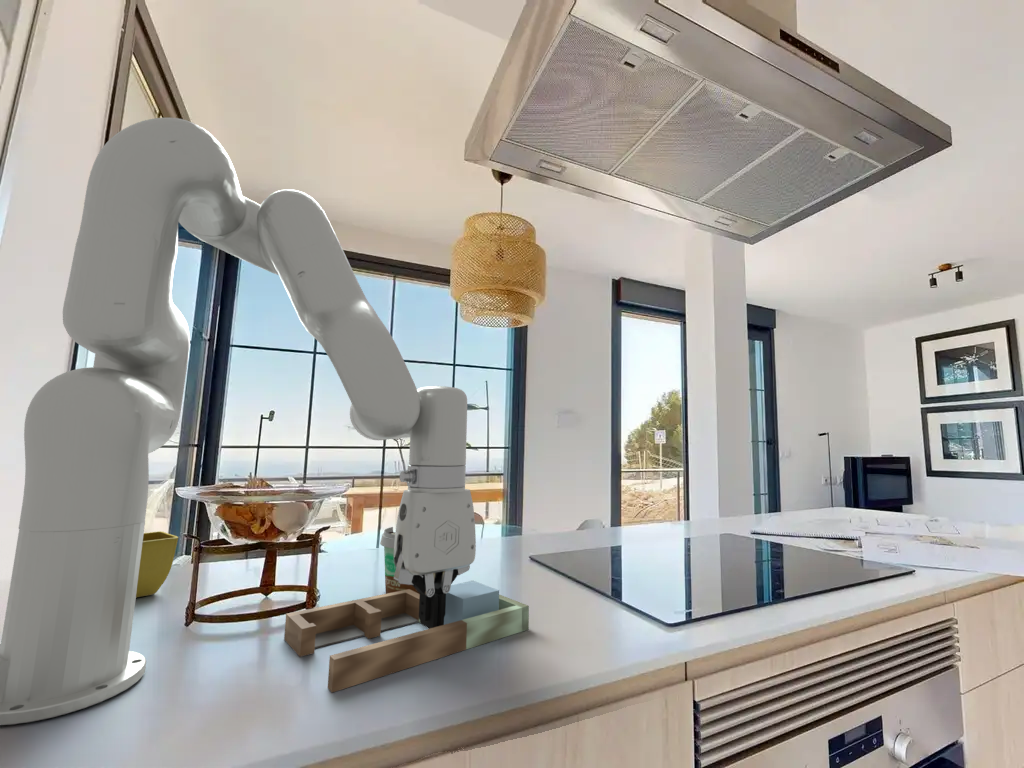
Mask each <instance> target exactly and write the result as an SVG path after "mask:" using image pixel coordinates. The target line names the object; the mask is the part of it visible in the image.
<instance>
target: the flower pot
mask: <svg viewBox="0 0 1024 768" xmlns="http://www.w3.org/2000/svg"><path fill="white" fill-rule="evenodd" d="M178 541H179V536H177V535H174V534H171V533H167V532H165V531H160V530H159V531H152V532H144V535H143V543H142V551H141V559H140V567H139V575H138V583H137V591H136V598H141V597H145V596H151V595H155V594H157V592H158V591H159V590H160V588H161V587H162V585H163V584H164V583H165V582H166V579H167V578H168V576H169V574H170V572H171V570H172V566H173V562H174V558H175V554H176V550H177V546H178Z"/></svg>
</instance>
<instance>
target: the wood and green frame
mask: <svg viewBox="0 0 1024 768" xmlns="http://www.w3.org/2000/svg"><path fill="white" fill-rule="evenodd" d="M419 597H420V594H418V593H416V592H414V591H412V590H410V589H407V590H402V591H397V592H392V593H387V594H386V593H384V594H378V595H373V596H368V597H363V598H359V599H358V598H357V599H353V600H348V601H343V602H338V603H333V604H329V605H323V606H318V607H313V608H308V609H304V610H298V611H294V612H290V613H285V621H284V622H285V624H284V637H283V640H284V641H285V642H286V643H287V644H288V645H289V646H290V648H291V649H292V650H293V651H294V652H295V653H296V654H297V656H298V657H300V658H301V657H305V656H308V655H312V654H315V649H319V648H323V647H327V646H331V645H334V644H339V643H344V642H346V641H347V642H348V641H351V640H355V639H358V637H359V638H361V637H362V636H363V637H365V638H366V637H367V638H366V639H368V640H369V639H373V638H377V636H378V637H381V634H382V632H386V631H389V630H393V629H397V628H401V627H405V626H409V625H414V624H417V623H419V624H421V623H420V619H419ZM529 615H530V605H528V604H525V603H523V602H520V601H517V600H515V599H512V598H510V597H507V596H504V595H502V594H499V610H497V611H493V612H490V613H486V614H482V615H478V616H475V617H471V618H467V619H464V620H460V621H456V622H453V623H449V624H445V625H441V626H438V627H434V628H430V629H429V628H426V629H423V630H420V631H416V632H412V633H408V634H406V635H400V636H397V637H394V638H389V639H387V640H383V641H379V642H375V643H371V644H368V645H363V646H361V647H357V648H352V649H349V650H346V651H342V652H341V651H340V652H338V653H334V654H331V655H329V660H328V661H329V664H328V674H327V676H328V678H327V689H328V690H329V691H330V692H331V693H335V692H338V691H342V690H345V689H347V688H351V687H355V686H356V685H360V684H363V683H366V682H370V681H372V680H375V679H376V680H377V679H379V678H382V677H385V676H388V675H391V674H394V673H398V672H400V671H403V670H404V671H405V670H407V669H410V668H414V667H416V666H419V665H423V664H426V663H428V662H431V661H435V660H437V659H441V658H445V657H446V656H450V655H453V654H456V653H460V652H463V651H466V650H469V649H472V648H475V647H479V646H481V645H482V646H483V645H485V644H487V643H491V642H494V641H497V640H500V639H503V638H506V637H510V636H512V635H516V634H519V633H522V632H525V631H528V630H529V629H530V622H529V621H530V620H529V619H530V618H529V617H530V616H529ZM363 637H362V638H363ZM354 638H355V639H354Z"/></svg>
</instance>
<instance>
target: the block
mask: <svg viewBox="0 0 1024 768" xmlns="http://www.w3.org/2000/svg"><path fill="white" fill-rule="evenodd" d="M499 595H500V589H497V588H494V587H491V586H489V585H486V584H483V583H480V582H478V581H476V580H470V581H465V582H461V583H455V584H451V588H450V591H449V592H448V593H446V609H445V616H444V625H445V624H449V623H453V622H456V621H460V620H464V619H467V618H471V617H475V616H478V615H482V614H486V613H490V612H493V611H497V610H499Z"/></svg>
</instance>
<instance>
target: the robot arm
mask: <svg viewBox="0 0 1024 768" xmlns="http://www.w3.org/2000/svg"><path fill="white" fill-rule="evenodd" d="M179 225H180V226H181V227H183V228H184V229H185V230H186V231H187V232H188V233H189V234H191V235H192V236H194V237H195V238H197V239H198V240H200V241H201V242H205V243H206V244H208V245H211V246H213V247H214V248H217V249H219V250H221V251H224V252H225V253H227V254H230V255H231V256H234V257H235V258H238V259H240V260H242V261H244V262H247V263H249V264H250V265H254V267H255V266H256V267H257V268H260V269H261V270H264V271H267V272H269V273H272V274H275V275H277V276H279V279H280V280H281V283H282V285H283V287H284V289H285V291H286V293H287V296H288V298H289V299H290V303H291V304H292V307H293V308H294V310H295V313H296V315H297V317H298V319H299V321H300V322H301V324H302V326H303V327H304V329H305V331H306V332H307V333H308V334H310V335H311V336H312V337H313V338H314V339H315V340H316V341H317V342H318V343H319V344H320V346H321V347H322V349H323V350H324V352H325V353H326V355H327V356H328V358H329V360H330V362H331V364H332V366H333V367H334V369H335V371H336V374H337V376H338V378H339V379H340V381H341V383H342V386H343V387H344V390H345V392H346V395H347V396H348V398H349V399H348V400H349V401H350V403H351V404H350V409H349V419H350V422H351V425H352V427H353V428H354V430H355V431H356V432H357V433H359V434H360V435H361V436H362V437H364V438H367V439H370V440H373V441H388V440H395V439H403V438H405V439H406V438H409V456H408V466H407V469H406V470H404V471H403V470H402V471H400V473H399V480H400V482H401V483H406V486H407V489H404V490H403V493H402V497H401V500H400V504H399V507H398V513H397V519H396V525H395V531H394V532H395V542H394V564H395V566H396V570H395V574H394V581H396V582H398V583H400V584H408V585H412V586H413V587H414V588H415V589H416V591H417V592H419V593H420V597H419V619H420V623H419V624H420V625H422V626H424V627H426V629H430V628H434V627H438V626H441V625H444V616H445V609H446V593H448V592H449V591H450V588H451V585H453V582H454V581H455V580H456V578H457V577H459V576H460V575H463V574H465V573H466V572H469V570H470V569H471V568H470V567H471V565H472V564H473V563H474V562H475V559H476V554H477V553H476V547H477V544H476V543H477V542H476V541H477V540H476V539H477V538H476V521H475V519H476V518H475V510H474V509H475V508H474V501H473V497H472V494H471V489H468V488H466V469H467V468H466V464H467V463H466V462H467V460H466V459H467V425H468V424H467V422H468V397H467V394H466V392H465V391H464V390H463V389H461V388H458V387H454V386H445V385H444V386H443V385H442V386H441V385H433V386H431V385H429V386H422V387H419V388H417V386H416V384H415V382H414V379H413V378H412V375H411V373H410V370H409V368H408V367H407V365H406V362H405V360H404V358H403V356H402V354H401V352H400V350H399V348H398V344H397V343H396V342H395V340H394V338H393V337H392V334H391V333H390V332H389V329H388V328H387V327H386V325H385V324H384V322H383V321H382V320H381V318H380V317H379V315H378V313H377V312H376V310H375V309H374V308H373V306H372V305H371V303H370V302H369V301H368V298H367V297H366V295H365V293H364V291H363V289H362V286H361V285H360V283H359V281H358V279H357V277H356V275H355V273H354V270H353V268H352V266H351V265H350V262H349V260H348V258H347V256H346V254H345V251H344V249H343V247H342V245H341V243H340V241H339V239H338V237H337V234H336V232H335V231H334V228H333V226H332V224H331V222H330V220H329V218H328V216H327V214H326V212H325V210H324V209H323V208H322V206H321V204H319V203H318V201H316V199H314V198H313V197H312V196H311V195H309V194H307V193H306V192H303V191H300V190H296V189H289V188H288V189H281V190H277V191H274V192H273V193H270V194H269V195H268V196H267V197H266V198H265V199H264V200H263V201H262V202H261V204H259V203H257V202H256V201H254V200H251V199H249V198H248V197H246V196H244V195H243V193H242V190H241V186H240V183H239V179H238V175H237V173H236V170H235V167H234V165H233V163H232V160H231V158H230V156H229V155H228V152H227V151H226V150H225V148H224V147H223V146H222V144H221V143H220V141H219V140H217V138H216V137H214V135H213V134H212V133H210V132H209V131H208V130H206V129H205V128H204V127H202V126H200V125H198V124H197V123H195V122H193V121H189V120H187V119H183V118H178V117H154V118H150V119H145V120H142V121H138V122H136V123H133V124H131V125H129V126H127V127H125V128H123V129H121V130H120V131H119V132H117V133H116V134H115V135H113V136H112V137H110V139H109V140H107V142H106V143H105V144H104V145H103V147H102V148H101V149H100V150H99V152H98V154H97V156H96V157H95V160H94V162H93V165H92V167H91V170H90V172H89V177H88V181H87V185H86V190H85V198H84V203H83V208H82V216H81V221H80V226H79V231H78V236H77V239H76V243H75V247H74V253H73V256H72V262H71V267H70V272H69V278H68V281H67V287H66V293H65V297H64V301H63V305H62V306H63V308H62V324H63V327H64V328H65V330H66V333H67V334H68V336H69V337H70V338H71V339H72V341H74V342H75V343H76V344H78V345H79V346H80V347H82V348H84V349H86V350H88V351H89V352H91V353H92V354H94V358H93V359H94V361H93V367H81V368H76V369H73V370H69V371H64V372H63V373H61V374H59V375H57V376H55V377H53V378H52V379H50V380H48V381H47V382H46V383H45V384H43V385H42V386H41V387H40V389H38V391H37V392H36V393H35V394H34V395H33V397H32V399H31V400H30V403H29V404H28V407H27V409H26V414H25V418H24V427H23V430H24V431H23V432H24V433H23V436H24V437H23V438H24V442H23V443H24V458H25V460H24V461H25V463H24V464H25V465H24V467H25V468H24V469H25V470H24V471H25V472H24V473H25V474H24V475H25V476H24V489H23V494H22V495H23V497H22V504H21V511H20V517H19V524H18V534H17V540H16V545H15V546H16V547H15V552H14V553H15V554H14V559H13V565H12V566H13V567H12V572H11V577H10V583H9V584H10V585H9V591H8V595H7V596H8V597H7V602H6V610H5V615H4V621H3V626H2V633H1V640H0V726H6V725H7V726H9V725H11V726H12V725H19V724H25V723H33V722H37V721H43V720H48V719H51V718H55V717H59V716H62V715H63V716H64V715H67V714H71V713H73V712H77V711H79V710H82V709H86V708H88V707H89V708H90V707H91V706H94V705H96V704H100V703H102V702H103V701H106V700H109V699H110V698H113V697H115V696H117V695H119V694H122V692H124V691H126V690H128V689H130V688H131V687H132V686H133V685H135V684H137V682H138V681H140V679H142V678H143V676H144V674H145V672H146V665H147V658H146V657H145V656H144V655H143V654H141V653H140V652H136V651H132V650H130V648H131V647H130V646H131V639H132V631H133V629H132V628H133V624H134V623H133V622H134V616H135V615H134V614H135V607H136V600H137V599H136V591H137V583H138V575H139V567H140V559H141V551H142V543H143V535H144V533H145V525H146V516H147V515H146V514H147V507H148V506H147V505H148V497H149V496H148V495H149V485H150V484H149V481H150V479H149V477H150V475H149V471H150V470H149V467H150V465H149V454H150V453H153V452H155V451H157V450H159V449H161V448H162V447H163V446H164V445H165V444H166V443H167V442H168V441H169V440H170V439H172V437H173V435H174V433H175V432H176V429H177V427H178V425H179V421H180V417H181V413H182V404H183V399H184V393H185V392H184V391H185V383H186V376H187V370H188V362H189V358H190V357H189V355H190V347H191V346H190V345H191V339H190V338H191V336H190V330H189V325H188V322H187V320H186V318H185V317H184V315H183V314H182V312H181V311H180V309H179V308H178V307H177V306H176V305H175V304H174V302H173V294H172V293H173V292H172V290H173V280H174V272H175V266H176V261H177V256H178V249H179Z"/></svg>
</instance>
